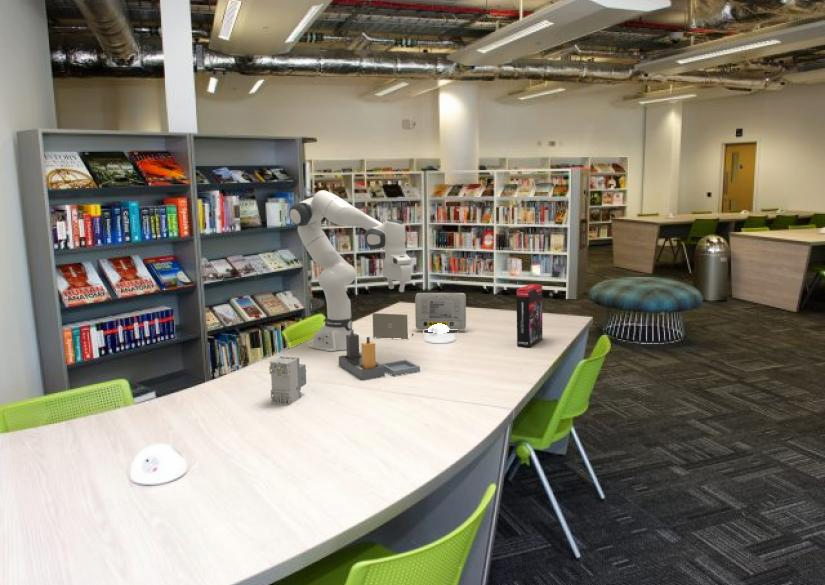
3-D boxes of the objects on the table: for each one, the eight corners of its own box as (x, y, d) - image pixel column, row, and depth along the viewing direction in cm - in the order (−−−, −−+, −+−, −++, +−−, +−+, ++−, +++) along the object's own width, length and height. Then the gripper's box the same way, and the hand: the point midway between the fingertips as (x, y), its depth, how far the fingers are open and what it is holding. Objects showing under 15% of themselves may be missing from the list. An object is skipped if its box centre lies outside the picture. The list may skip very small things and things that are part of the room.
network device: (466, 330, 335) (465, 292, 331) (465, 334, 326) (465, 295, 323) (416, 330, 337) (416, 292, 334) (415, 334, 329) (414, 295, 325)
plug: (362, 371, 261) (361, 337, 258) (372, 370, 263) (371, 335, 260) (365, 374, 258) (364, 338, 255) (375, 372, 260) (374, 337, 257)
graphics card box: (529, 348, 297) (530, 290, 292) (515, 346, 301) (515, 289, 296) (542, 340, 311) (543, 284, 307) (529, 338, 315) (530, 283, 310)
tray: (380, 368, 269) (380, 363, 269) (406, 364, 275) (406, 359, 275) (393, 376, 259) (393, 371, 259) (419, 371, 265) (419, 366, 264)
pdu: (338, 365, 275) (338, 356, 275) (360, 362, 280) (360, 352, 279) (362, 380, 255) (361, 370, 254) (384, 376, 259) (384, 366, 259)
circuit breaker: (309, 392, 242) (307, 353, 239) (289, 404, 229) (287, 363, 226) (291, 390, 244) (289, 351, 242) (271, 402, 231) (269, 362, 228)
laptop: (414, 334, 328) (414, 309, 326) (407, 340, 317) (407, 314, 314) (381, 333, 333) (380, 308, 331) (373, 338, 322) (372, 313, 319)
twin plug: (347, 362, 274) (345, 329, 272) (356, 360, 276) (355, 328, 274) (350, 364, 272) (348, 330, 269) (359, 362, 274) (358, 329, 271)
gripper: (378, 256, 281) (379, 287, 283) (400, 261, 263) (400, 294, 266) (391, 255, 284) (392, 286, 286) (413, 259, 266) (414, 292, 269)
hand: (396, 290), depth 276 cm, fingers open, 8 cm apart
